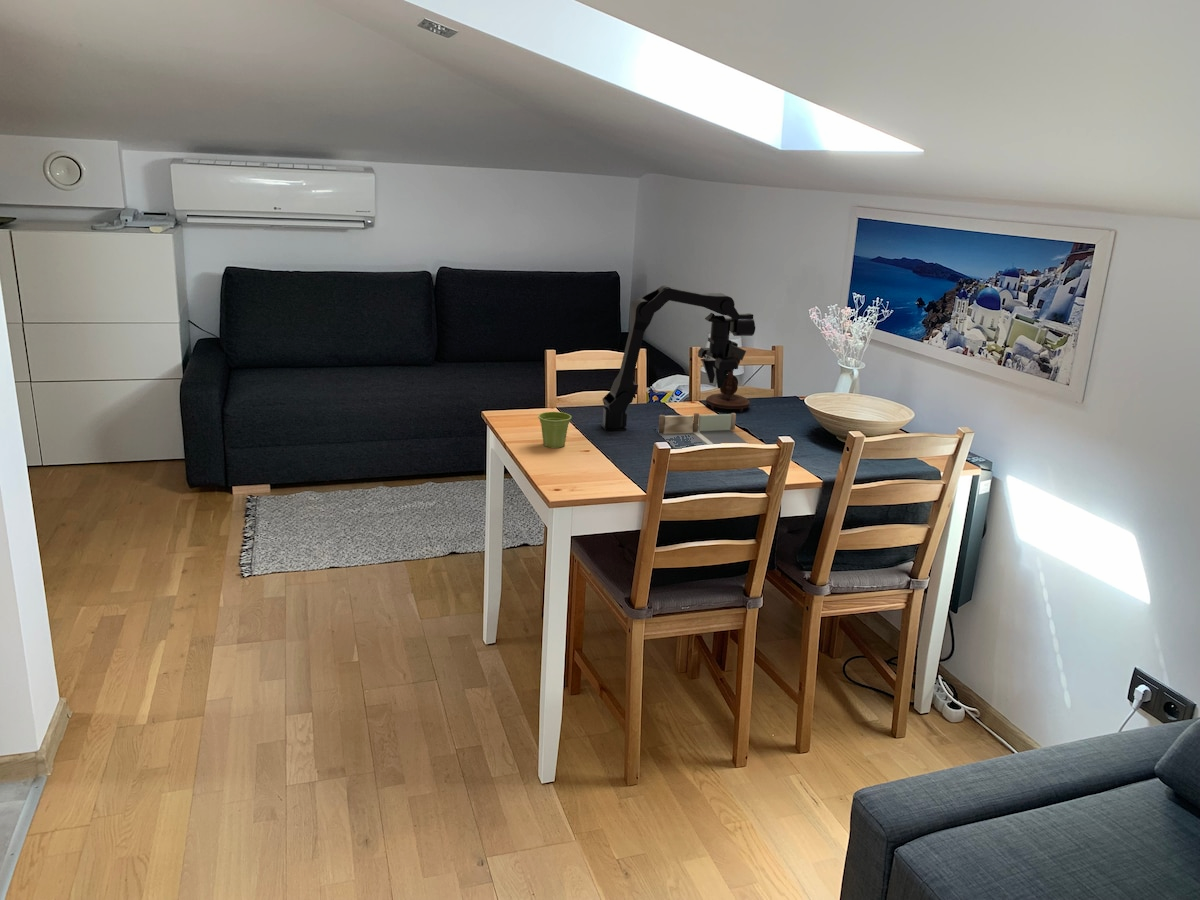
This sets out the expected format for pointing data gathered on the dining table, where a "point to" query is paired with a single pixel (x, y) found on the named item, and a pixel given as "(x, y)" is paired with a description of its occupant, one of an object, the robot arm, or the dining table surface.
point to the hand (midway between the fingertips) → (715, 385)
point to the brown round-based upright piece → (728, 394)
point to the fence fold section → (717, 422)
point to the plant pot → (554, 428)
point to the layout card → (705, 437)
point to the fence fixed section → (678, 423)
